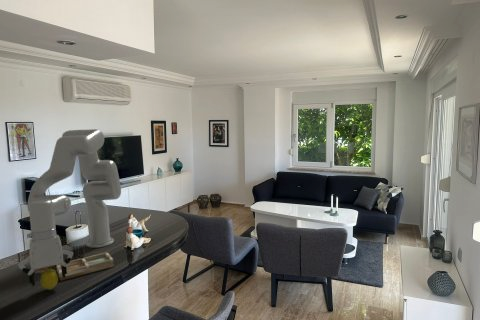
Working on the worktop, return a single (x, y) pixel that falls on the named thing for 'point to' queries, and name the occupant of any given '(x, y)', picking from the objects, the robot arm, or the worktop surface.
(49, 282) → the lemon
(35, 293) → the worktop surface
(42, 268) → the pottery shard
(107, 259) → the tray
